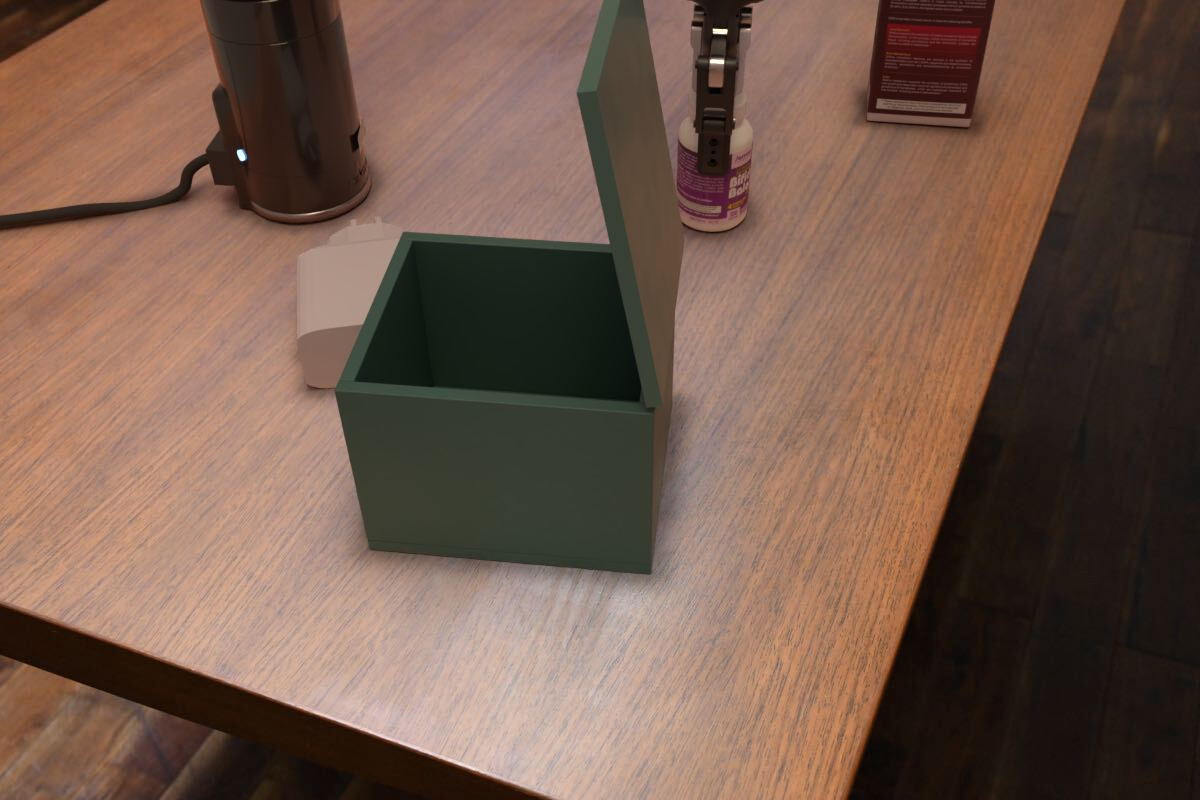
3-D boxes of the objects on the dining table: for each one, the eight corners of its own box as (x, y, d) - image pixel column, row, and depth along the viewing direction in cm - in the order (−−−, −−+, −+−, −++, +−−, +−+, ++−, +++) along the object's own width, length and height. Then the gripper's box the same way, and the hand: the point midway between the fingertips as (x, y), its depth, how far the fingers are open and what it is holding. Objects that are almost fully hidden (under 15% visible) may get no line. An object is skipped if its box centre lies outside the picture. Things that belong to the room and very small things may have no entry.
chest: (368, 549, 67) (333, 390, 59) (426, 386, 77) (402, 230, 69) (651, 575, 65) (654, 414, 57) (672, 404, 75) (677, 247, 67)
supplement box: (967, 101, 102) (1007, -89, 92) (970, 130, 99) (1011, -65, 88) (863, 93, 103) (890, -95, 93) (862, 122, 100) (890, -71, 89)
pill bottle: (742, 238, 88) (752, 119, 81) (670, 230, 89) (673, 112, 82) (750, 197, 92) (760, 81, 85) (681, 191, 93) (685, 75, 86)
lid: (575, 92, 46) (596, 90, 46) (617, -50, 56) (634, -52, 56) (646, 408, 57) (662, 407, 57) (670, 241, 67) (684, 240, 67)
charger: (434, 240, 88) (453, 372, 77) (306, 255, 87) (307, 391, 76) (427, 184, 85) (446, 314, 74) (294, 199, 84) (293, 333, 73)
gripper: (677, -131, 81) (671, 99, 92) (657, -44, 70) (653, 203, 82) (790, -128, 80) (770, 103, 92) (787, -40, 70) (765, 209, 81)
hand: (715, 149), depth 87 cm, fingers closed on pill bottle, 5 cm apart
